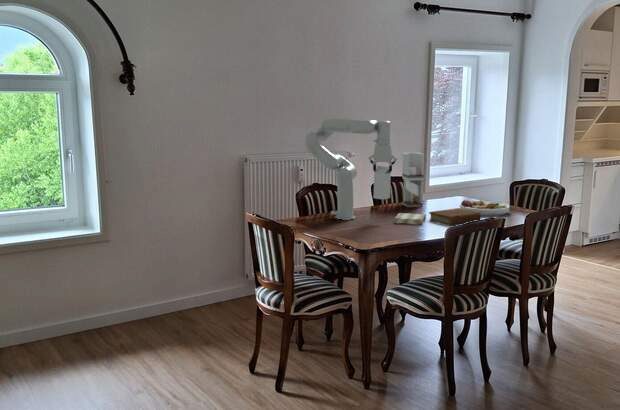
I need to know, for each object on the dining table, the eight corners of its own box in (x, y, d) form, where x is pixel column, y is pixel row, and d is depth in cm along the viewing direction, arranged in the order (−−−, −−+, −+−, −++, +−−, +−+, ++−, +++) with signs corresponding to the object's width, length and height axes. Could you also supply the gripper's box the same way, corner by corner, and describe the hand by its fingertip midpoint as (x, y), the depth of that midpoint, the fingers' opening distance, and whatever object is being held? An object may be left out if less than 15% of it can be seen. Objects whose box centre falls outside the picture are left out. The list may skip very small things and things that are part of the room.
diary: (450, 227, 346) (450, 217, 345) (428, 221, 362) (429, 212, 361) (480, 222, 357) (480, 212, 356) (458, 217, 373) (458, 207, 372)
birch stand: (394, 223, 355) (394, 218, 354) (398, 218, 370) (398, 213, 369) (422, 224, 350) (422, 219, 350) (425, 219, 365) (425, 214, 365)
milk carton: (383, 199, 356) (385, 167, 352) (373, 198, 360) (374, 166, 356) (389, 198, 361) (391, 166, 358) (379, 196, 366) (380, 165, 362)
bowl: (503, 208, 398) (503, 196, 397) (514, 217, 369) (514, 204, 367) (456, 208, 401) (456, 196, 400) (463, 217, 372) (463, 204, 370)
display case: (401, 204, 416) (402, 152, 410) (416, 203, 418) (417, 152, 412) (407, 207, 405) (408, 154, 399) (422, 206, 407) (423, 154, 401)
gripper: (367, 142, 354) (366, 172, 357) (397, 143, 349) (396, 173, 352) (369, 141, 361) (369, 170, 364) (399, 142, 356) (398, 171, 359)
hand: (382, 171), depth 358 cm, fingers closed on milk carton, 8 cm apart
